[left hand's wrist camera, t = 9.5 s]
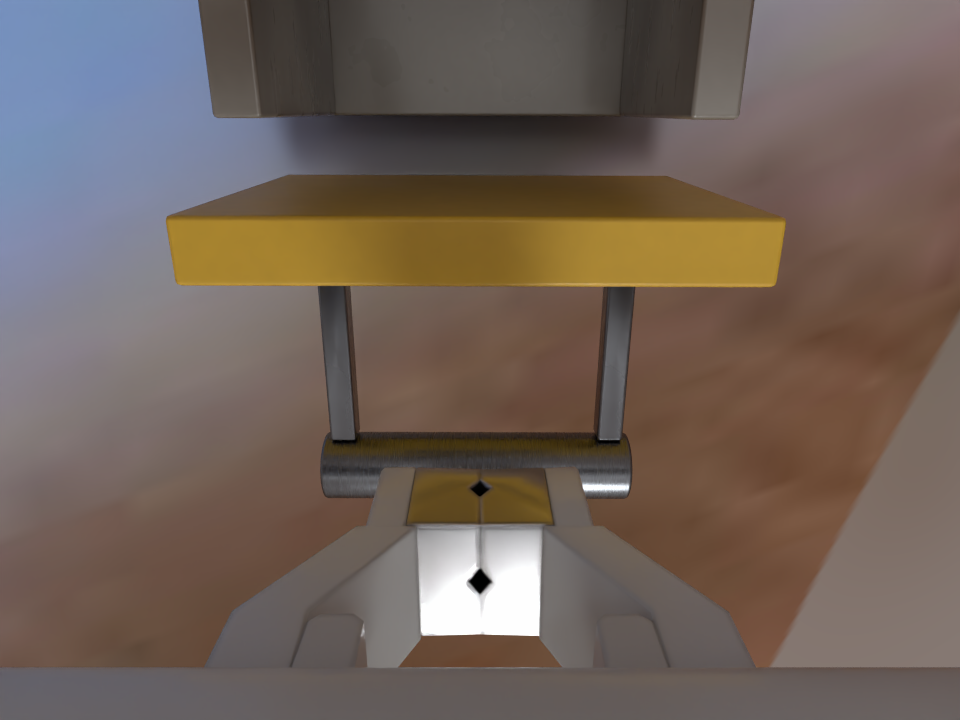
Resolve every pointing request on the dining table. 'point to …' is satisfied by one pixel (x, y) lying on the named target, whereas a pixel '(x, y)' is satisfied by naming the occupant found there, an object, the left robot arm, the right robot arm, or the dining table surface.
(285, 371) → the dining table surface
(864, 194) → the dining table surface
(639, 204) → the drawer
